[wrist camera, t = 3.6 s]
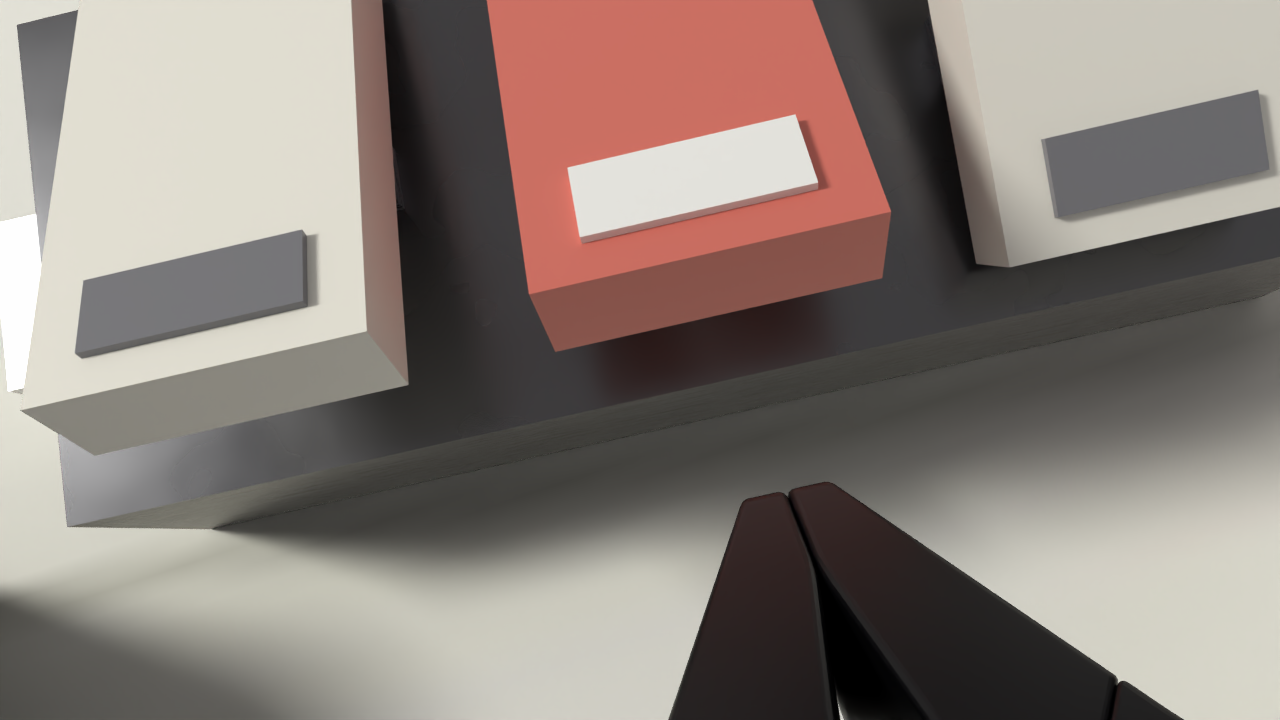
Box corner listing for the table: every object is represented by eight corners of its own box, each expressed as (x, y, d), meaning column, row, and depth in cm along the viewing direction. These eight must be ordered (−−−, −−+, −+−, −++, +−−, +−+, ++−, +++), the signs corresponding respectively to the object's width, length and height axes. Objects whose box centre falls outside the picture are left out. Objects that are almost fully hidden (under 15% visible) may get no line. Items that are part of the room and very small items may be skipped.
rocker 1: (408, 384, 14) (362, 325, 13) (95, 456, 15) (12, 406, 13) (379, -30, 19) (342, -111, 17) (138, 29, 19) (80, -46, 17)
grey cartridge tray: (1262, 295, 22) (1477, 200, 15) (125, 547, 23) (-98, 551, 17) (1124, -105, 24) (1268, -332, 17) (80, 146, 25) (-134, 14, 18)
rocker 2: (881, 278, 14) (892, 205, 13) (555, 351, 14) (526, 288, 13) (742, -118, 19) (736, -209, 17) (492, -57, 19) (465, -141, 17)
